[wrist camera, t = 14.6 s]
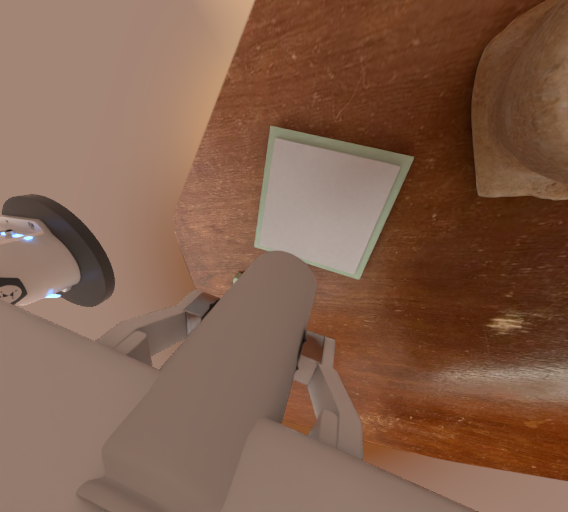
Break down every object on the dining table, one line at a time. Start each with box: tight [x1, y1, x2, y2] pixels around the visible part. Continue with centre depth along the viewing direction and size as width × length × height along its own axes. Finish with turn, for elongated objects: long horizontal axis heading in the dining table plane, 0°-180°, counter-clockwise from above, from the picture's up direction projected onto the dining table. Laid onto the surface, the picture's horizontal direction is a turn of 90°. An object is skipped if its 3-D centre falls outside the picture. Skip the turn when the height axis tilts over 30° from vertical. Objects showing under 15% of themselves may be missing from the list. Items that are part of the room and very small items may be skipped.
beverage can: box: [76, 251, 317, 512], centre depth 10 cm, size 5×5×12 cm
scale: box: [254, 126, 414, 280], centre depth 26 cm, size 15×15×3 cm
